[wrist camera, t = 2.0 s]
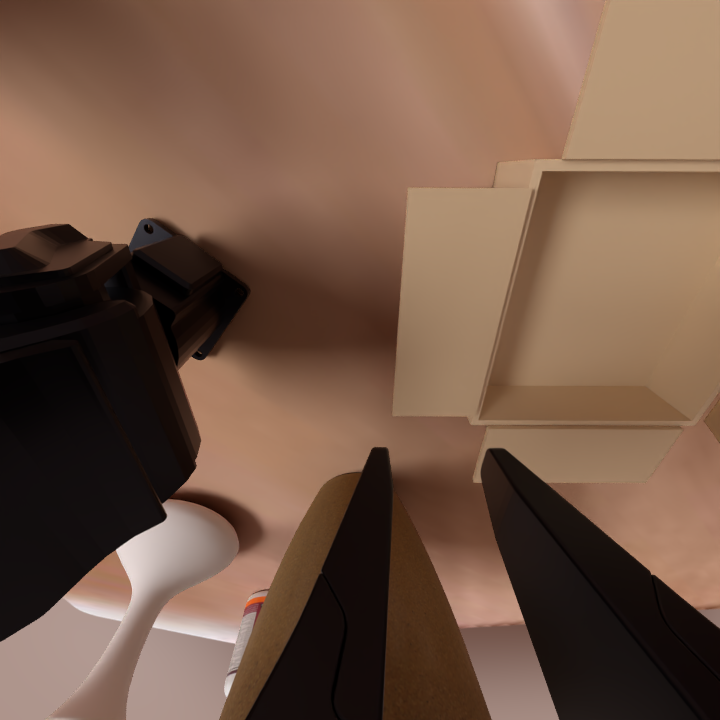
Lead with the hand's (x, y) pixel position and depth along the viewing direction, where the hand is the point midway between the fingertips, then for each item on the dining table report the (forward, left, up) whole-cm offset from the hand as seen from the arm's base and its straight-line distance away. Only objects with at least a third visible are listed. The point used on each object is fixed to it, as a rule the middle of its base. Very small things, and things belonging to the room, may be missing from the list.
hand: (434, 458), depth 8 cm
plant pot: (-16, -11, -13) cm, 24 cm away
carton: (+6, -7, -13) cm, 16 cm away
